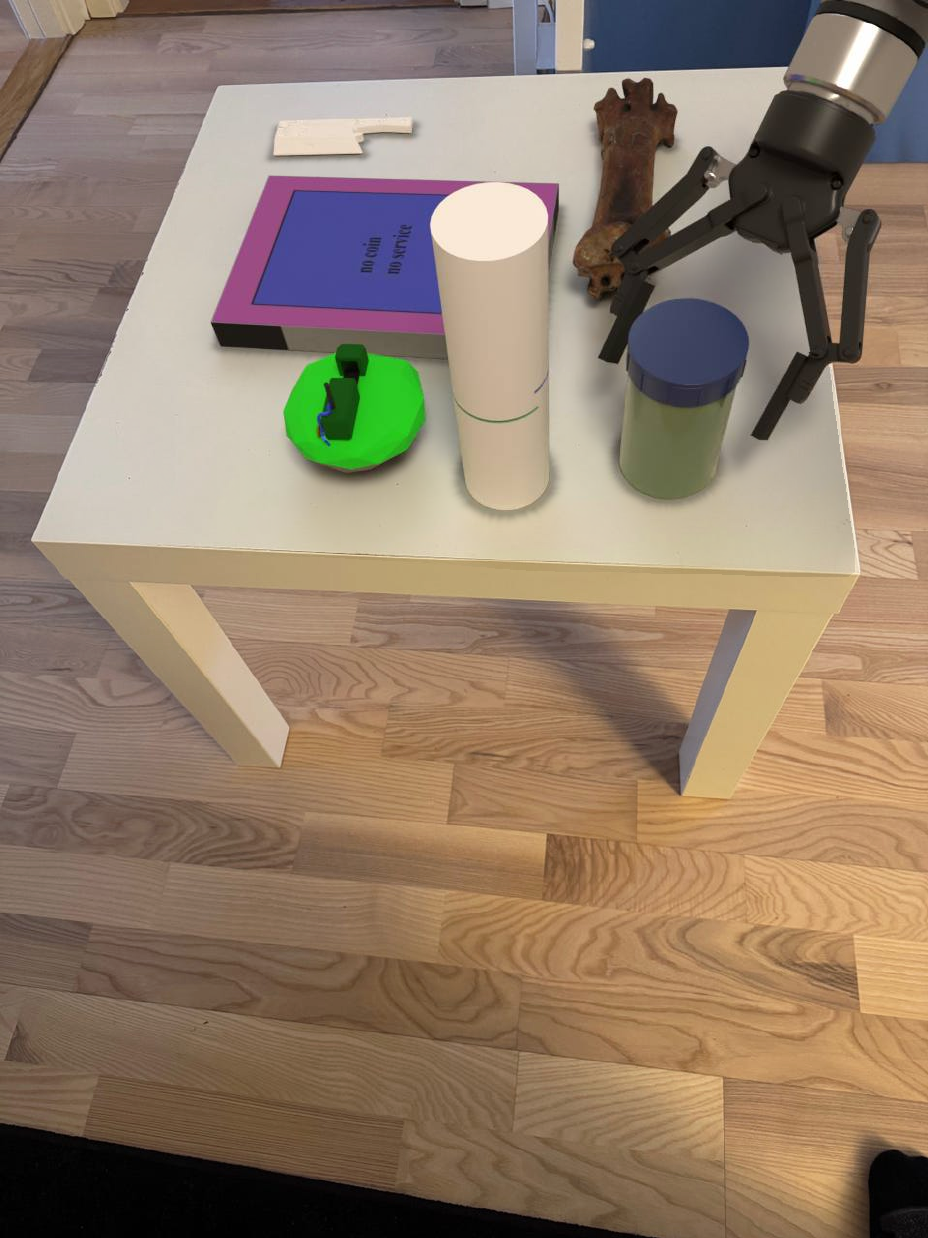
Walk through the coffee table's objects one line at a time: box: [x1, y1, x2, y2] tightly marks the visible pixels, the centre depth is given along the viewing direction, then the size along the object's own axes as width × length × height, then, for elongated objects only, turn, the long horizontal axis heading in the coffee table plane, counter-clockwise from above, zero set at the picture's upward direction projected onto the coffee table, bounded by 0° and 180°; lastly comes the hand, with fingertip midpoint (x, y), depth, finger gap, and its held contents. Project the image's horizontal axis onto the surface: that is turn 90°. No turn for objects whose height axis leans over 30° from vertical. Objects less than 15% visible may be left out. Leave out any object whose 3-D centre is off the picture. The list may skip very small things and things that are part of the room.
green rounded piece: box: [282, 344, 426, 474], centre depth 76 cm, size 12×12×11 cm
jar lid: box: [625, 297, 750, 407], centre depth 66 cm, size 8×8×2 cm
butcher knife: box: [273, 116, 414, 156], centre depth 101 cm, size 5×15×1 cm, turn 85°
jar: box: [618, 373, 738, 500], centre depth 71 cm, size 8×8×13 cm
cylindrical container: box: [430, 181, 550, 511], centre depth 66 cm, size 7×7×25 cm
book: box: [210, 175, 560, 360], centre depth 89 cm, size 21×3×30 cm
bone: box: [572, 77, 679, 300], centre depth 89 cm, size 9×8×30 cm
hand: (680, 398), depth 71 cm, fingers open, 13 cm apart
